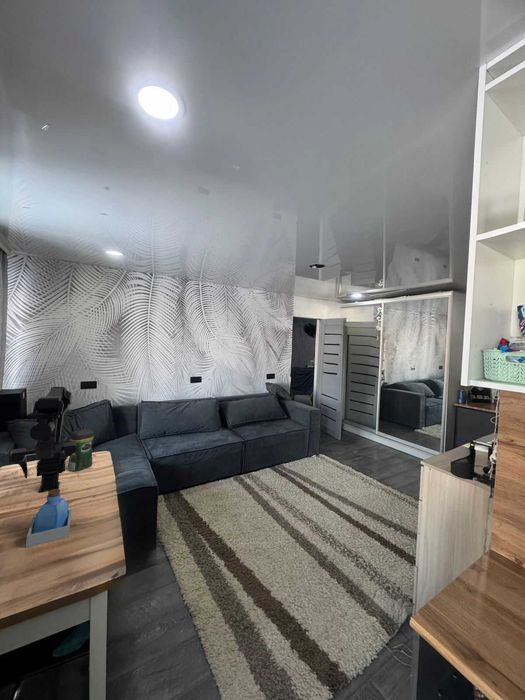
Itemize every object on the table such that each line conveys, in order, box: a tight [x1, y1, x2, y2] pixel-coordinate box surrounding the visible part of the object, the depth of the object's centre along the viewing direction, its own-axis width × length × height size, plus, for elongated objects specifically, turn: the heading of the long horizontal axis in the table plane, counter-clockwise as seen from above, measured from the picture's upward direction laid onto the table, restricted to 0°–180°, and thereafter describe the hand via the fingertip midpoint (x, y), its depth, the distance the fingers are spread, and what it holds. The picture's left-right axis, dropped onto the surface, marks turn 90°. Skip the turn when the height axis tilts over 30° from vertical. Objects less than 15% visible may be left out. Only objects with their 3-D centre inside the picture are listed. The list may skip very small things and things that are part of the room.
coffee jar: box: [67, 427, 95, 472], centre depth 132 cm, size 10×8×19 cm
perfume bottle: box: [34, 488, 70, 533], centre depth 86 cm, size 6×6×12 cm
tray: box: [25, 509, 72, 549], centre depth 86 cm, size 10×10×3 cm
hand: (43, 475), depth 98 cm, fingers open, 9 cm apart
